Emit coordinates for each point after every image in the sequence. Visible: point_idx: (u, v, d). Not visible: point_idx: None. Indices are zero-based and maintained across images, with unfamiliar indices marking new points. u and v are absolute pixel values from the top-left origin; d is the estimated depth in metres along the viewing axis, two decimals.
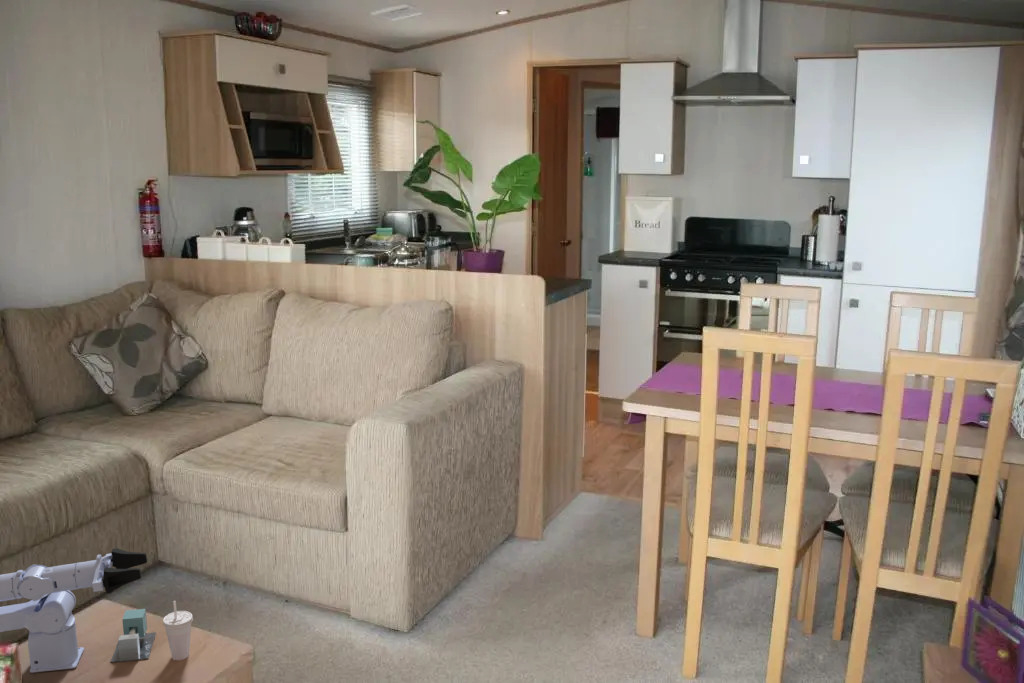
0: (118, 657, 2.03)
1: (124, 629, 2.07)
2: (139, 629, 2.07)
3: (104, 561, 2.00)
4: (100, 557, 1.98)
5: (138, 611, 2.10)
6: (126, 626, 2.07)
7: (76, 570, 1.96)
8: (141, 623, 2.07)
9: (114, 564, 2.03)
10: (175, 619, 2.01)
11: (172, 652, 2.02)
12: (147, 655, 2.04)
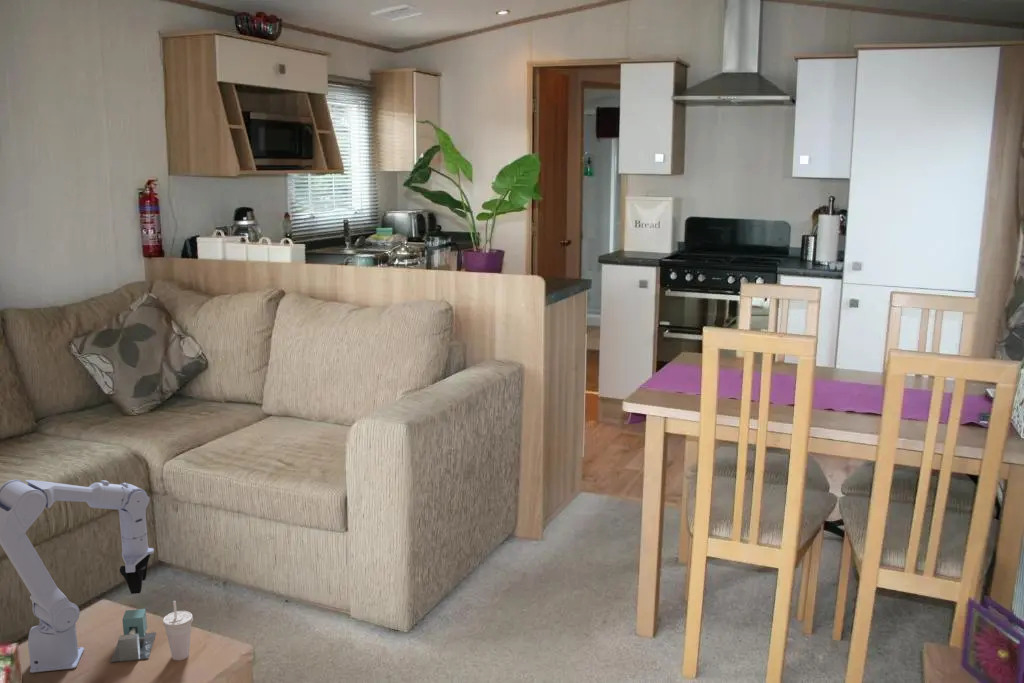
0: (118, 657, 2.03)
1: (124, 629, 2.07)
2: (139, 629, 2.07)
3: None
4: None
5: (138, 611, 2.10)
6: (126, 626, 2.07)
7: (142, 537, 2.10)
8: (141, 623, 2.07)
9: None
10: (175, 619, 2.01)
11: (172, 652, 2.02)
12: (147, 655, 2.04)
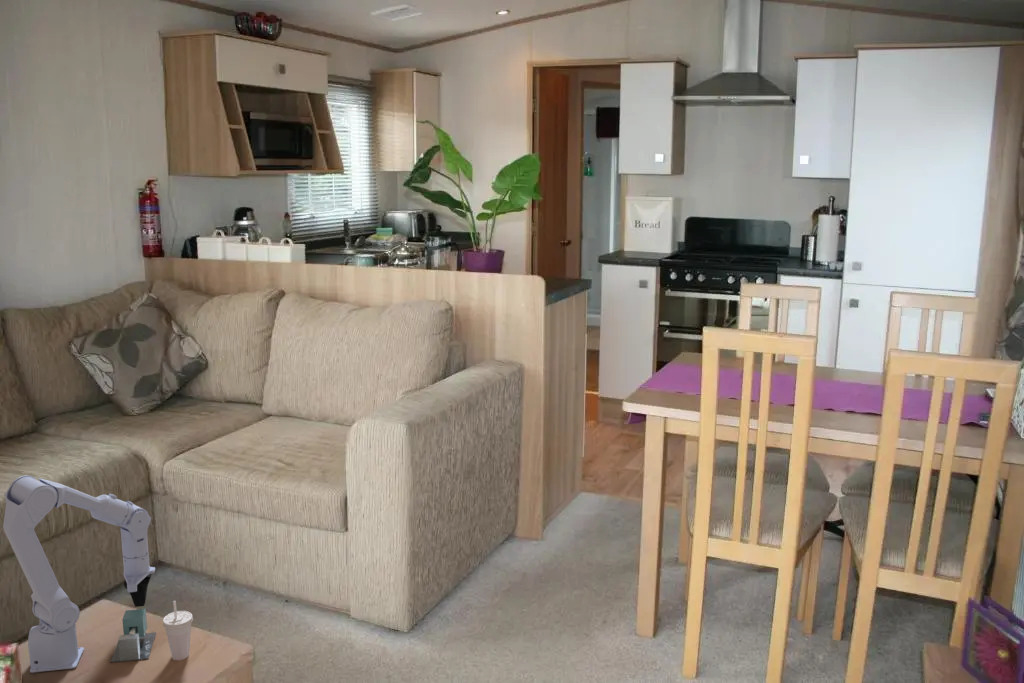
0: (118, 657, 2.03)
1: (124, 629, 2.07)
2: (139, 629, 2.07)
3: None
4: None
5: (138, 611, 2.10)
6: (126, 626, 2.07)
7: (144, 556, 2.11)
8: (141, 623, 2.07)
9: None
10: (175, 619, 2.01)
11: (172, 652, 2.02)
12: (147, 655, 2.04)
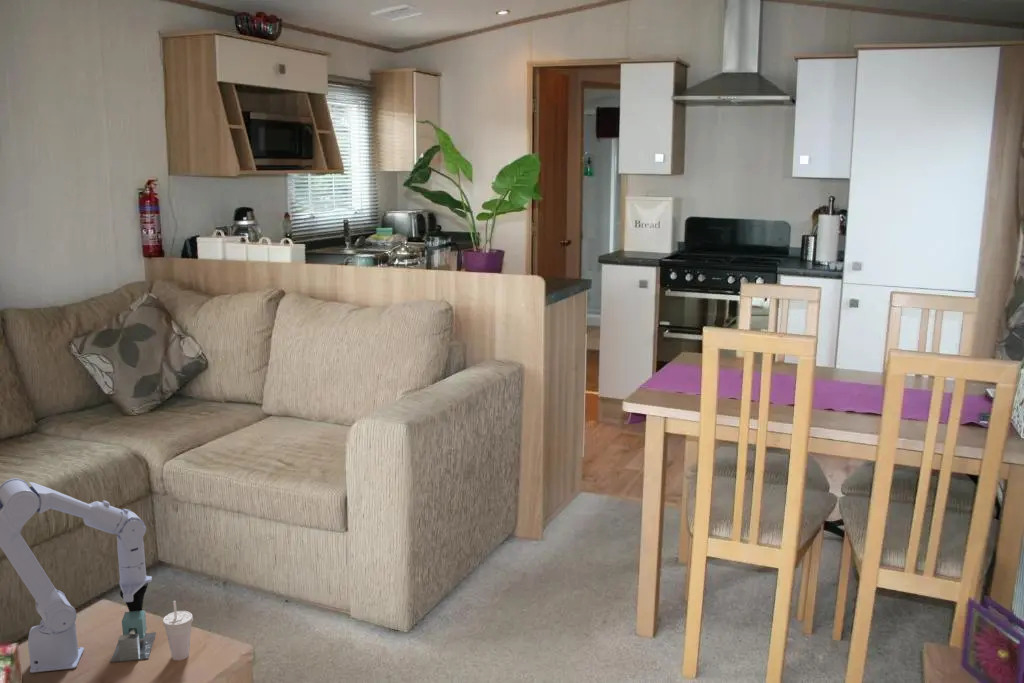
0: (118, 657, 2.03)
1: (124, 631, 2.06)
2: (138, 630, 2.07)
3: None
4: None
5: (137, 612, 2.09)
6: (125, 628, 2.06)
7: (140, 565, 2.07)
8: (140, 625, 2.07)
9: None
10: (175, 619, 2.01)
11: (172, 652, 2.02)
12: (147, 655, 2.04)
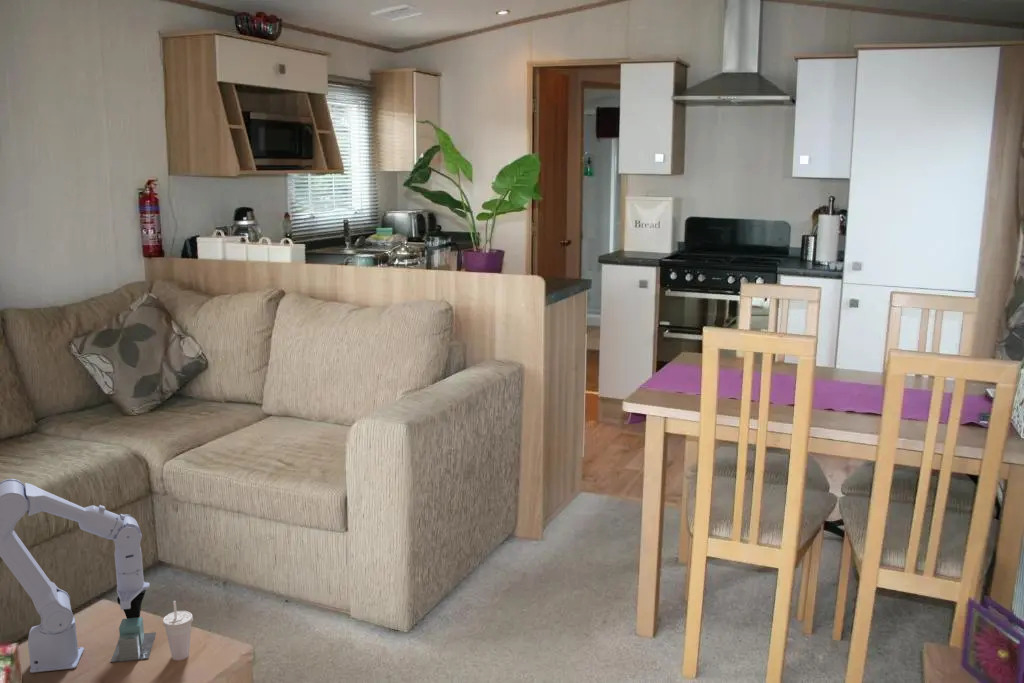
0: (118, 657, 2.03)
1: None
2: None
3: None
4: None
5: (135, 619, 2.06)
6: None
7: (137, 572, 2.04)
8: (138, 632, 2.04)
9: None
10: (175, 619, 2.01)
11: (172, 652, 2.02)
12: (147, 655, 2.04)
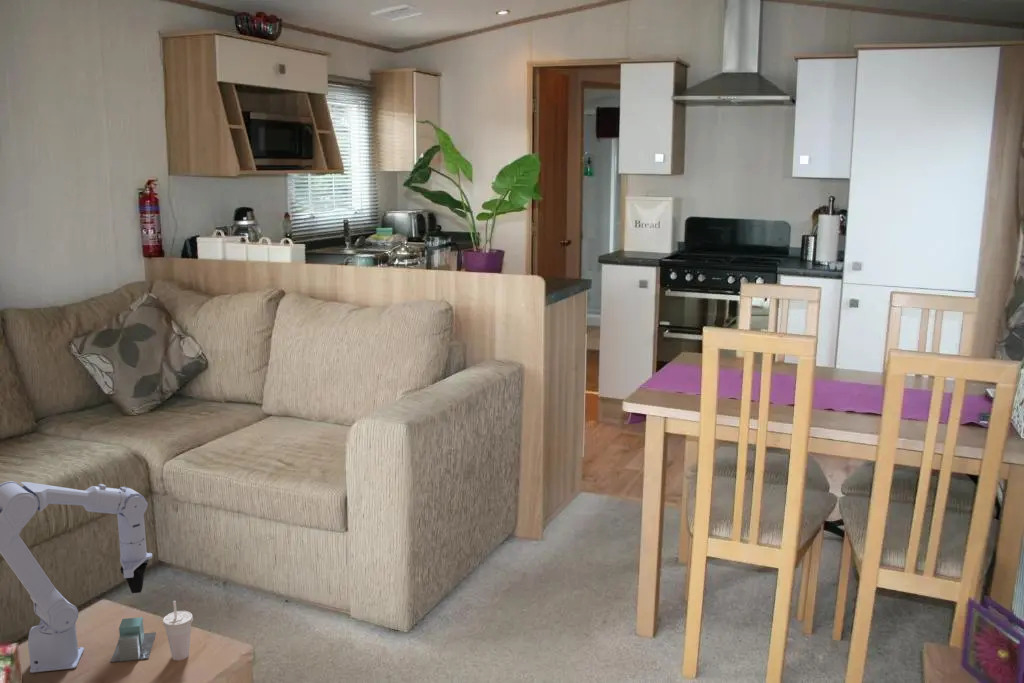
0: (118, 657, 2.03)
1: None
2: None
3: None
4: None
5: (135, 619, 2.06)
6: None
7: (140, 542, 2.08)
8: (138, 632, 2.04)
9: None
10: (175, 619, 2.01)
11: (172, 652, 2.02)
12: (147, 655, 2.04)
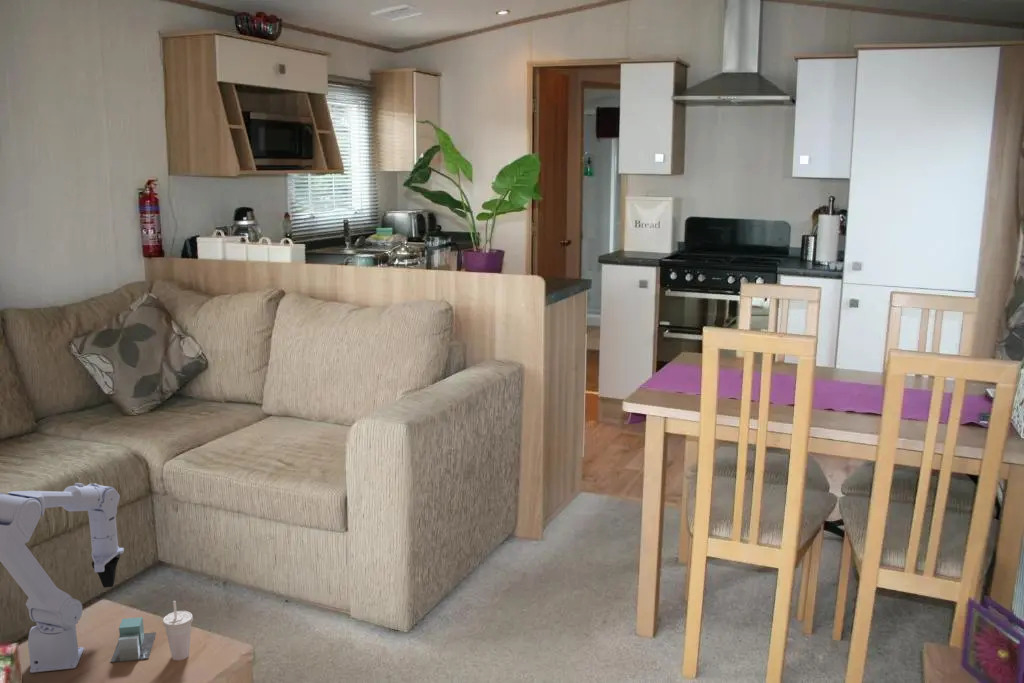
0: (118, 657, 2.03)
1: None
2: None
3: None
4: None
5: (135, 619, 2.06)
6: None
7: (112, 537, 2.10)
8: (138, 632, 2.04)
9: None
10: (175, 619, 2.01)
11: (172, 652, 2.02)
12: (147, 655, 2.04)
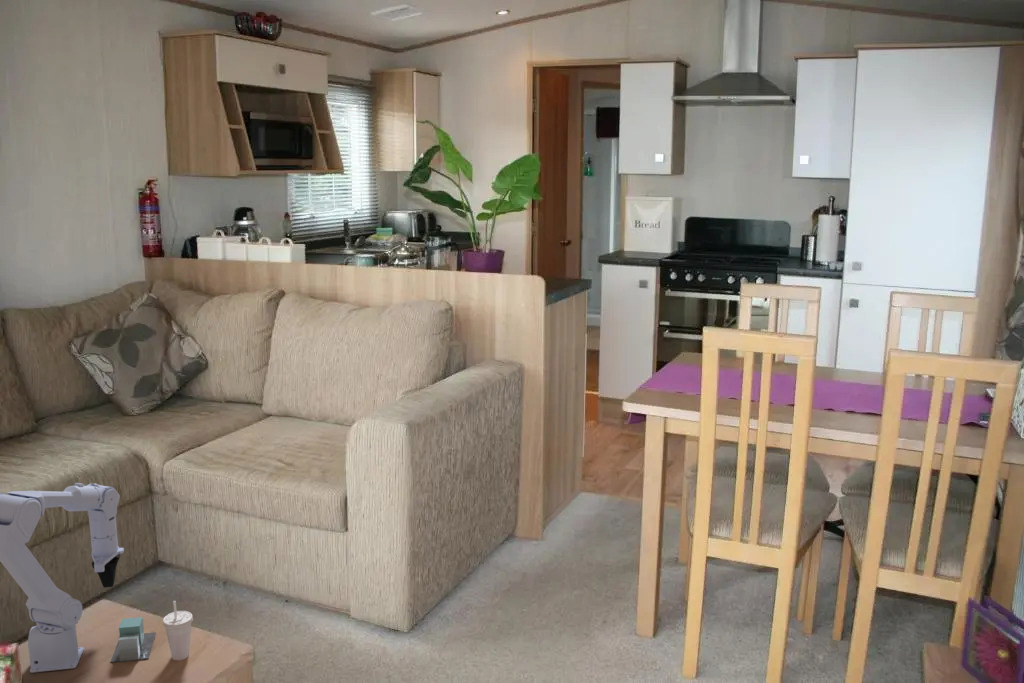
0: (118, 657, 2.03)
1: None
2: None
3: None
4: None
5: (135, 619, 2.06)
6: None
7: (112, 537, 2.10)
8: (138, 632, 2.04)
9: None
10: (175, 619, 2.01)
11: (172, 652, 2.02)
12: (147, 655, 2.04)
